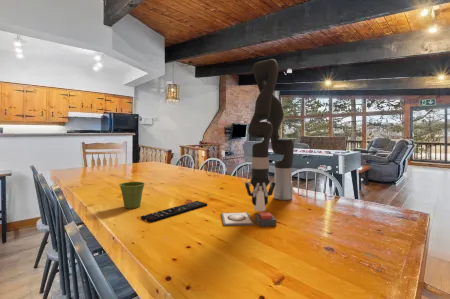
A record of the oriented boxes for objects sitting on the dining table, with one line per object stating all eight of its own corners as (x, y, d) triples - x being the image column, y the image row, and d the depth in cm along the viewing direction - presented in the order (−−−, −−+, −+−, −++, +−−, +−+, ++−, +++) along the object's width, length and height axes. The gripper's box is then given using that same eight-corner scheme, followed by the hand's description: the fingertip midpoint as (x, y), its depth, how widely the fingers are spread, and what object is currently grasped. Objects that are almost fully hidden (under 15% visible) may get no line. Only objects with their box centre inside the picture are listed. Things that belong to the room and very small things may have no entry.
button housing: (271, 219, 105) (271, 213, 105) (276, 226, 98) (276, 219, 98) (254, 220, 105) (255, 214, 105) (258, 226, 98) (258, 220, 98)
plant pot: (150, 206, 123) (149, 183, 122) (126, 212, 114) (125, 187, 113) (138, 201, 131) (137, 180, 130) (115, 206, 122) (114, 183, 121)
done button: (269, 216, 104) (269, 212, 104) (271, 219, 100) (272, 215, 99) (259, 216, 103) (259, 212, 103) (261, 220, 99) (261, 215, 99)
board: (247, 213, 113) (247, 211, 113) (254, 225, 99) (254, 222, 99) (221, 214, 112) (221, 212, 112) (223, 225, 98) (223, 223, 98)
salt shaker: (252, 207, 116) (252, 184, 115) (264, 207, 117) (264, 184, 116) (255, 211, 111) (255, 187, 110) (267, 211, 111) (267, 186, 110)
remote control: (140, 219, 106) (140, 215, 106) (196, 203, 130) (196, 199, 130) (150, 224, 101) (150, 219, 101) (207, 206, 125) (207, 202, 125)
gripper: (273, 165, 116) (272, 201, 118) (242, 166, 115) (242, 202, 116) (278, 167, 109) (277, 206, 110) (245, 168, 108) (245, 207, 109)
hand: (259, 204), depth 113 cm, fingers closed on salt shaker, 4 cm apart
